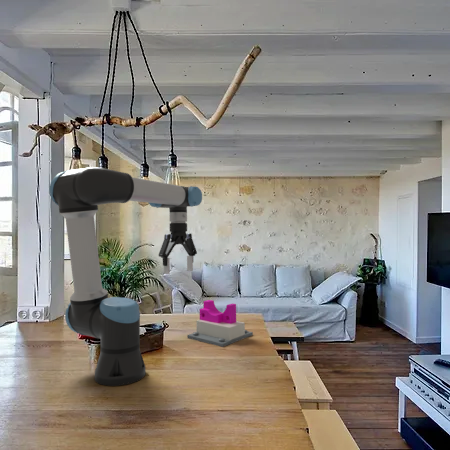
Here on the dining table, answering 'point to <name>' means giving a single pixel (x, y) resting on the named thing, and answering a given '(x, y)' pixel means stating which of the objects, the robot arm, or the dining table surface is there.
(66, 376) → the dining table surface
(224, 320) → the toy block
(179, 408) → the dining table surface
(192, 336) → the baseplate
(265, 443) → the dining table surface
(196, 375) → the dining table surface
